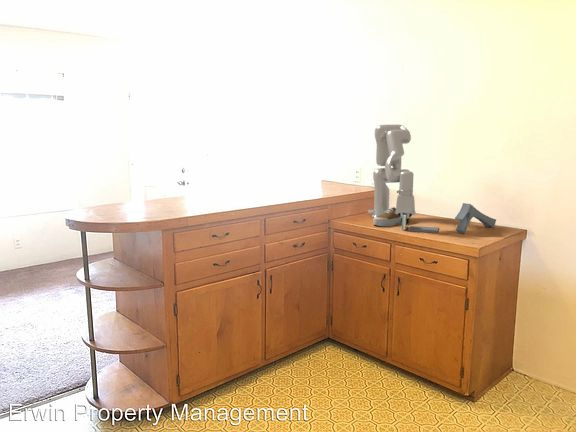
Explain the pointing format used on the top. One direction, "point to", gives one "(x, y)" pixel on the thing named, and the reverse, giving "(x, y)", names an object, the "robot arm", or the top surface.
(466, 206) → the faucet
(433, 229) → the mat
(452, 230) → the top surface
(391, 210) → the sneaker
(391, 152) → the robot arm
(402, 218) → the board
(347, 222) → the top surface
